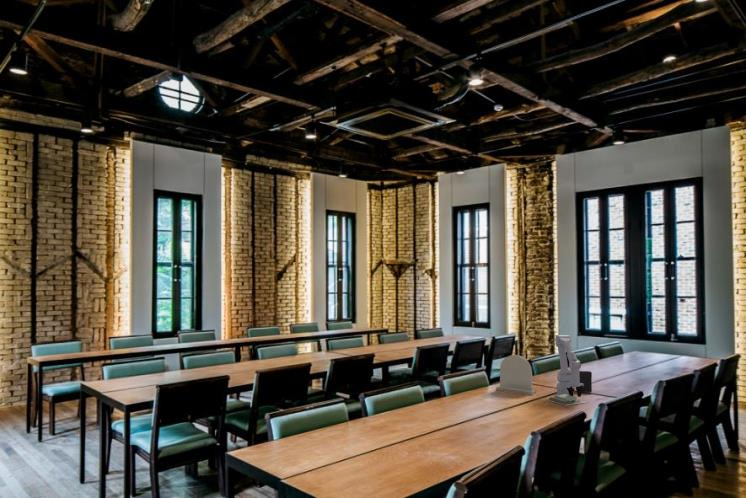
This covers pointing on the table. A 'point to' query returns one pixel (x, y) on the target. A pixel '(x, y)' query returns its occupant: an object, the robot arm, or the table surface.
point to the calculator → (586, 380)
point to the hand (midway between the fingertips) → (575, 397)
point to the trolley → (566, 397)
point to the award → (516, 375)
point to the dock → (565, 402)
